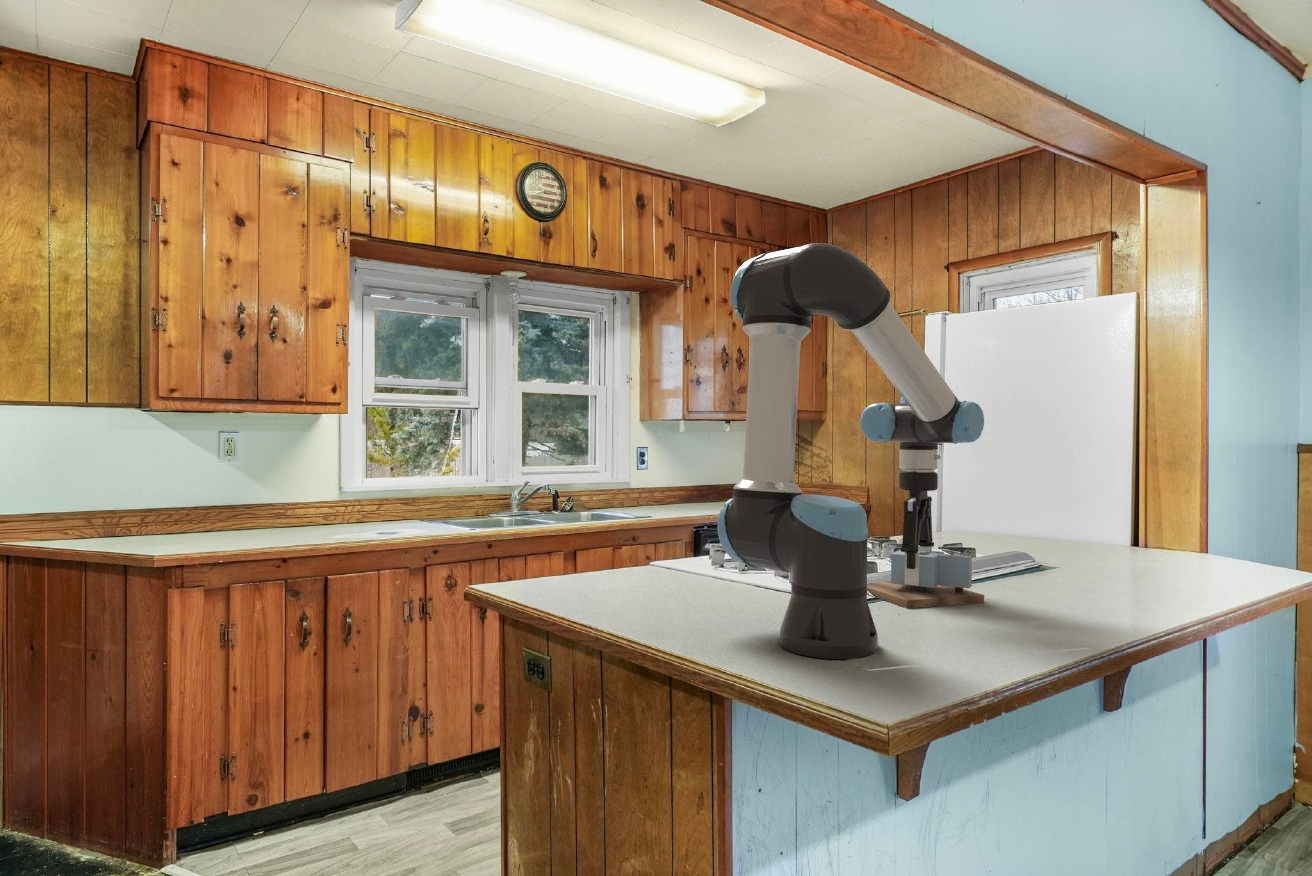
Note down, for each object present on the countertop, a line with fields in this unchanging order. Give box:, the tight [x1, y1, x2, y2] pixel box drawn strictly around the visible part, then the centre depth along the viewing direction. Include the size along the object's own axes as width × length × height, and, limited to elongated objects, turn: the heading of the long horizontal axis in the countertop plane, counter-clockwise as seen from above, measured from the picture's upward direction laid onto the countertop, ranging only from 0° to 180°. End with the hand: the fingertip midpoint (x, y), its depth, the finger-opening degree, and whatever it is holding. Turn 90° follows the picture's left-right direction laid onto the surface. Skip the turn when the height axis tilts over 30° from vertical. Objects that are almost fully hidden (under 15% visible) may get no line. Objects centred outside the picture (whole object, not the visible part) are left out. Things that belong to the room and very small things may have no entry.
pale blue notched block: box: [890, 549, 973, 589], centre depth 163 cm, size 14×8×6 cm, turn 58°
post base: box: [867, 551, 985, 609], centre depth 165 cm, size 18×18×9 cm
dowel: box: [955, 587, 964, 592], centre depth 163 cm, size 2×2×6 cm
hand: (917, 581), depth 165 cm, fingers closed on pale blue notched block, 8 cm apart
